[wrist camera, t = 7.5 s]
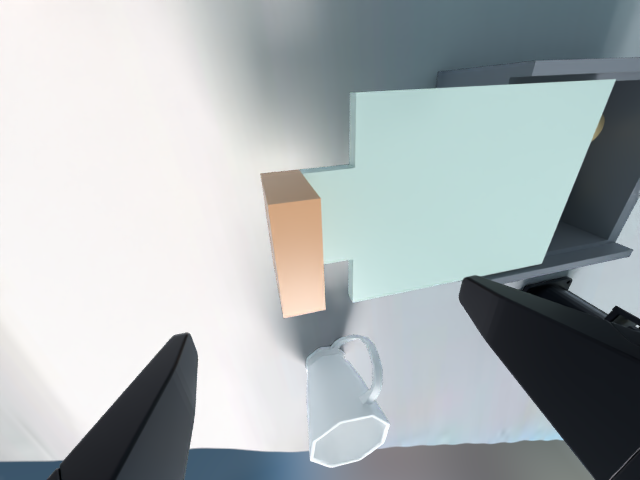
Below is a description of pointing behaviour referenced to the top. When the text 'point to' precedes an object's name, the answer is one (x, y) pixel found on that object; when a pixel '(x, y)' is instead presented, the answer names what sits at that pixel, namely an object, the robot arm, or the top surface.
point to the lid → (432, 189)
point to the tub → (598, 165)
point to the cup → (343, 406)
